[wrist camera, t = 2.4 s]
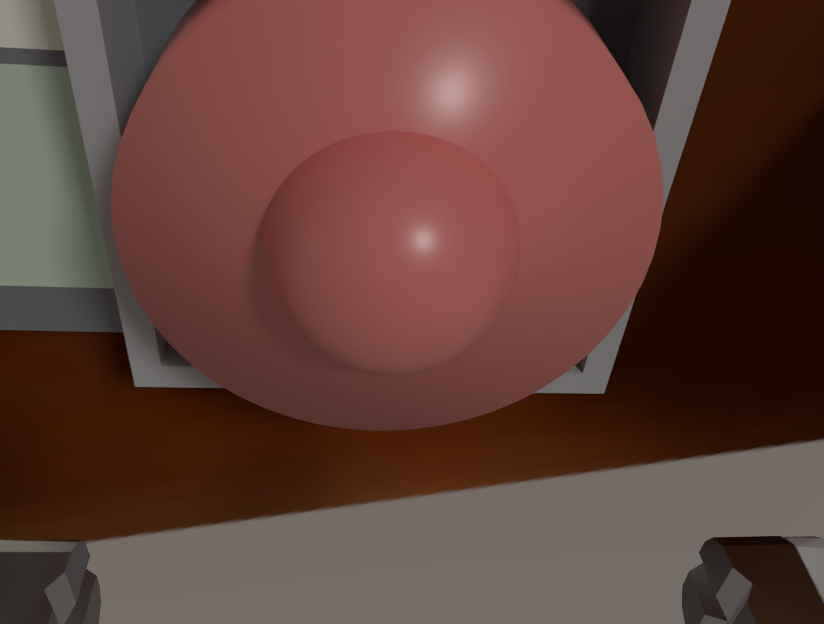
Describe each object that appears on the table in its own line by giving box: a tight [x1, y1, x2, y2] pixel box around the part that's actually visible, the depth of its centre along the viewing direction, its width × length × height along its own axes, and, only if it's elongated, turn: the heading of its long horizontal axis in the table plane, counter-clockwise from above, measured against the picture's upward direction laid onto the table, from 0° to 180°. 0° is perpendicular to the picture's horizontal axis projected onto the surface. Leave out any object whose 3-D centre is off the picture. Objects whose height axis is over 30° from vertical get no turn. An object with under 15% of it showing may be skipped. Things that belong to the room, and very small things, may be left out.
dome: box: [111, 0, 663, 431], centre depth 16 cm, size 11×11×6 cm
